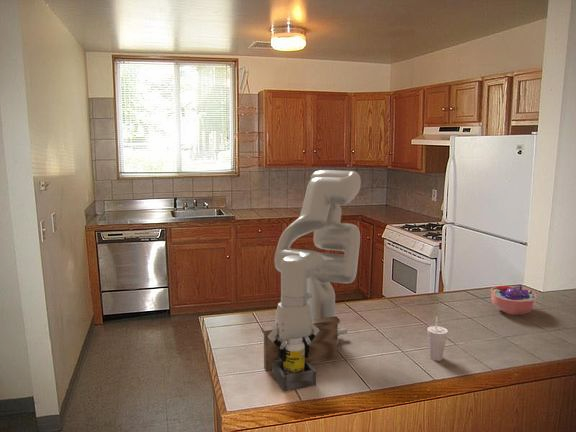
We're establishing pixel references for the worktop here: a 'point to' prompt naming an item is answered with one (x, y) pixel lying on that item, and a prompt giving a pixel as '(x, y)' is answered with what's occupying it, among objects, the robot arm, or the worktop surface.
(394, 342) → the worktop surface
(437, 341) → the smoothie
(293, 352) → the pill bottle
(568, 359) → the worktop surface
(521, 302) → the cell model
